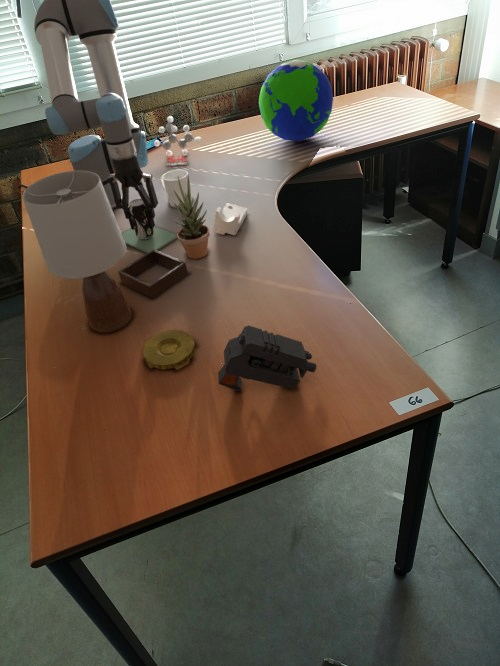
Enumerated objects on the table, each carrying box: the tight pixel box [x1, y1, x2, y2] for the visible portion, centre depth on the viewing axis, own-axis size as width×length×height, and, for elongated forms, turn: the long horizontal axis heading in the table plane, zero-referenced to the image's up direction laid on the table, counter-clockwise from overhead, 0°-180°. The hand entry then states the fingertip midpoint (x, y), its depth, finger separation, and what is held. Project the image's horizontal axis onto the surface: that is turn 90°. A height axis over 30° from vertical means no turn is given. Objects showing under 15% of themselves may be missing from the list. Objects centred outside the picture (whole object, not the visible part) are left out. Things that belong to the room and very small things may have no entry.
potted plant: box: [173, 174, 211, 260], centre depth 143 cm, size 10×10×25 cm
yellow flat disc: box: [142, 329, 196, 371], centre depth 118 cm, size 12×12×2 cm
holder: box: [117, 250, 189, 300], centre depth 142 cm, size 14×14×4 cm
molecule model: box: [153, 115, 202, 167], centre depth 204 cm, size 20×16×16 cm
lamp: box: [22, 170, 132, 334], centre depth 119 cm, size 19×19×37 cm
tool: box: [217, 324, 317, 392], centre depth 105 cm, size 6×19×15 cm, turn 95°
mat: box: [121, 225, 178, 254], centre depth 161 cm, size 18×12×1 cm, turn 50°
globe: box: [258, 59, 334, 142], centre depth 202 cm, size 30×30×30 cm
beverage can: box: [128, 198, 154, 240], centre depth 157 cm, size 6×6×12 cm
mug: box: [159, 168, 193, 209], centre depth 175 cm, size 11×9×10 cm
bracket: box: [213, 202, 249, 236], centre depth 160 cm, size 13×7×8 cm, turn 164°
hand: (143, 227), depth 159 cm, fingers closed on beverage can, 6 cm apart
